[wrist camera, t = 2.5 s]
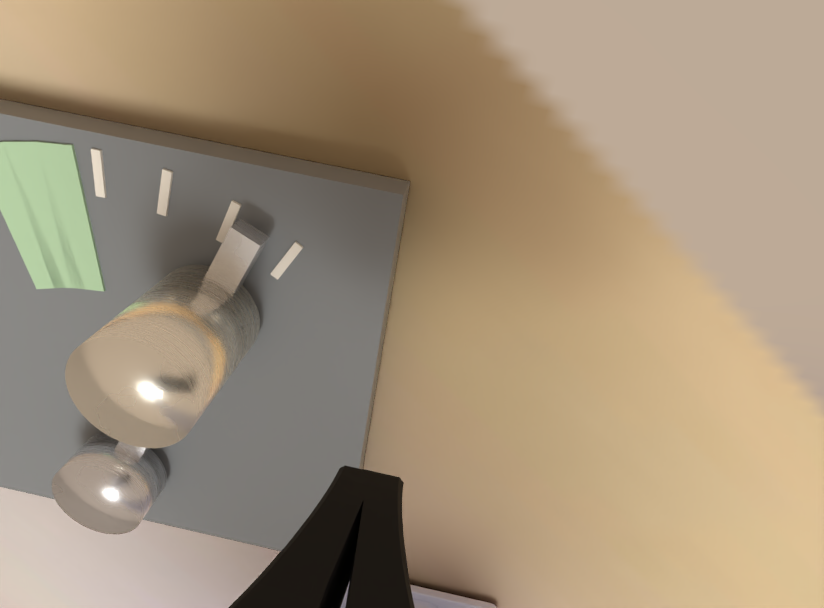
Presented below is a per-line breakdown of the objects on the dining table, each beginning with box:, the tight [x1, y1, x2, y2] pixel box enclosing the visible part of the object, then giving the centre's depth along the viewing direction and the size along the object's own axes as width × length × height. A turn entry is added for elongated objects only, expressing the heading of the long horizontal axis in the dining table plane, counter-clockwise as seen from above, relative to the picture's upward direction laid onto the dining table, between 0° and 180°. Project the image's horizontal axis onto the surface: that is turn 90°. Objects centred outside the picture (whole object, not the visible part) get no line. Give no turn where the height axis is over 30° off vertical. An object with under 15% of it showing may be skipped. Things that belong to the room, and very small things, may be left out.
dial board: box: [0, 99, 410, 551], centre depth 22 cm, size 17×19×2 cm
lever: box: [52, 218, 270, 534], centre depth 18 cm, size 15×4×5 cm, turn 147°
